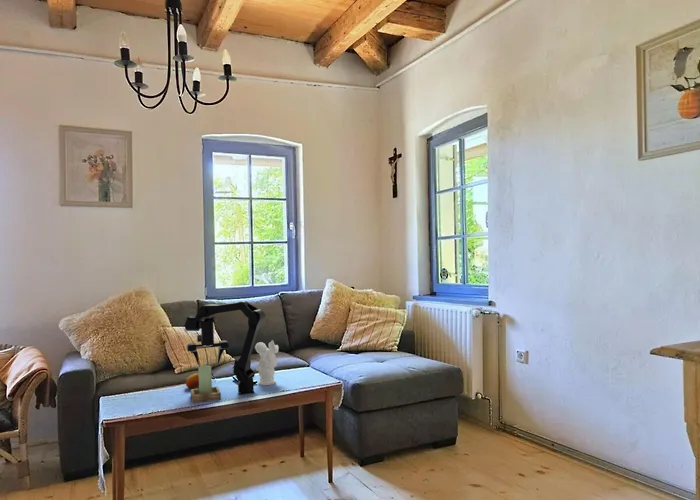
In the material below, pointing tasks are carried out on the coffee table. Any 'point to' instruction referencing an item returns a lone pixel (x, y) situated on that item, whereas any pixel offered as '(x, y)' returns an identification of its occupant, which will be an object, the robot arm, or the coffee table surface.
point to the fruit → (193, 381)
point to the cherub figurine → (266, 362)
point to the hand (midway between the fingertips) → (208, 363)
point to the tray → (205, 395)
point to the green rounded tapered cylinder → (205, 380)
